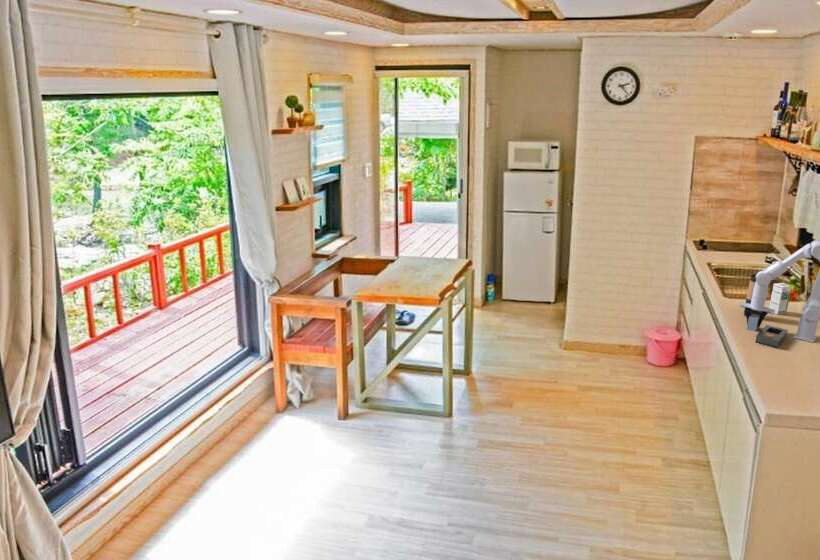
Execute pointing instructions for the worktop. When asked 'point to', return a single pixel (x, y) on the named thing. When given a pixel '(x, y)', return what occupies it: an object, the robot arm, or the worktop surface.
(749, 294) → the travel mug
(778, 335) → the grey slotted block
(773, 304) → the syrup box
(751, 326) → the plug
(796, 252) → the robot arm
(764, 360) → the worktop surface
